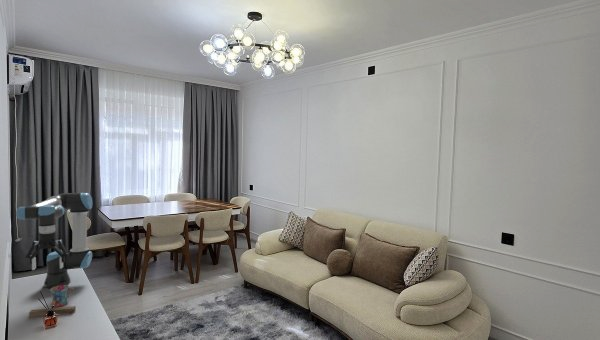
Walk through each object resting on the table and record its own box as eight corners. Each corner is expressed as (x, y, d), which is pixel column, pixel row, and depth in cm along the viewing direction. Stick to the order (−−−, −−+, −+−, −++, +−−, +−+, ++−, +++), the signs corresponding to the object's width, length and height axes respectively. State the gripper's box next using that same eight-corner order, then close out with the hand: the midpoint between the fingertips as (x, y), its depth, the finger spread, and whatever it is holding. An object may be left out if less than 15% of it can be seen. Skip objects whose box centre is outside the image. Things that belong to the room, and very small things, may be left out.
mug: (50, 309, 196) (50, 292, 196) (50, 303, 203) (49, 287, 203) (74, 304, 204) (74, 287, 203) (73, 298, 211) (73, 282, 210)
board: (31, 314, 189) (31, 309, 189) (75, 310, 195) (75, 305, 195) (29, 317, 187) (29, 312, 186) (73, 313, 192) (73, 308, 192)
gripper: (17, 234, 181) (18, 272, 183) (69, 233, 188) (70, 269, 189) (25, 231, 189) (25, 267, 190) (74, 229, 195) (75, 264, 197)
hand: (47, 268), depth 190 cm, fingers open, 13 cm apart
